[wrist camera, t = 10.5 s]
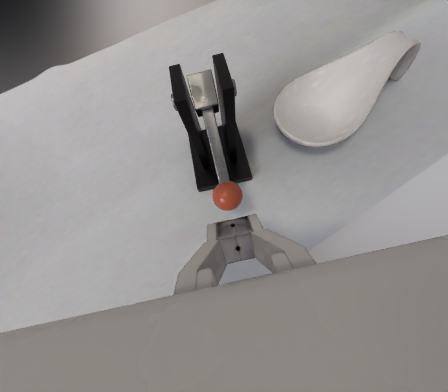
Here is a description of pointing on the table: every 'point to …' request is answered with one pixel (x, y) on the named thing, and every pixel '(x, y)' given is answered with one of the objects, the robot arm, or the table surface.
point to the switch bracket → (198, 138)
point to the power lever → (214, 138)
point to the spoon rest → (341, 91)
